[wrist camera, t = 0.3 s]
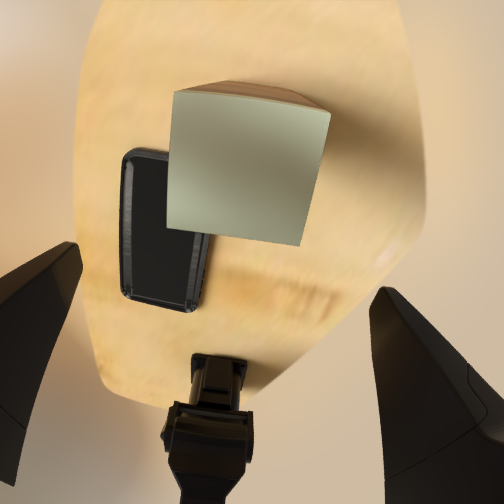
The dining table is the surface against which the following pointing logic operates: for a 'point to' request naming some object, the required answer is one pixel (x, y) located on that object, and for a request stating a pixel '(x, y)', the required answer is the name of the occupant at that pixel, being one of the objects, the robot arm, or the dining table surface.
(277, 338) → the dining table surface
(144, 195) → the phone
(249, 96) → the walnut block
